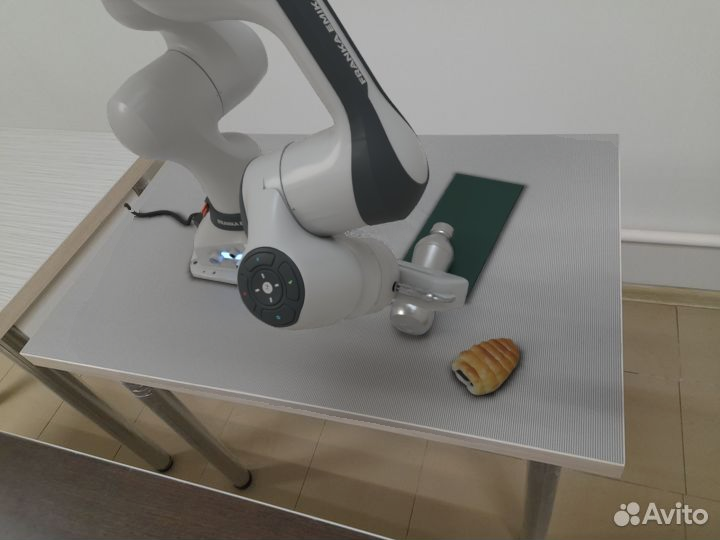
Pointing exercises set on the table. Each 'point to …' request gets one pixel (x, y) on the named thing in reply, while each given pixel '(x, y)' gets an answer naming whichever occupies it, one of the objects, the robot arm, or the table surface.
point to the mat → (471, 221)
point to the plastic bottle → (432, 255)
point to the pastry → (486, 365)
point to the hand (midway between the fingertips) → (407, 270)
